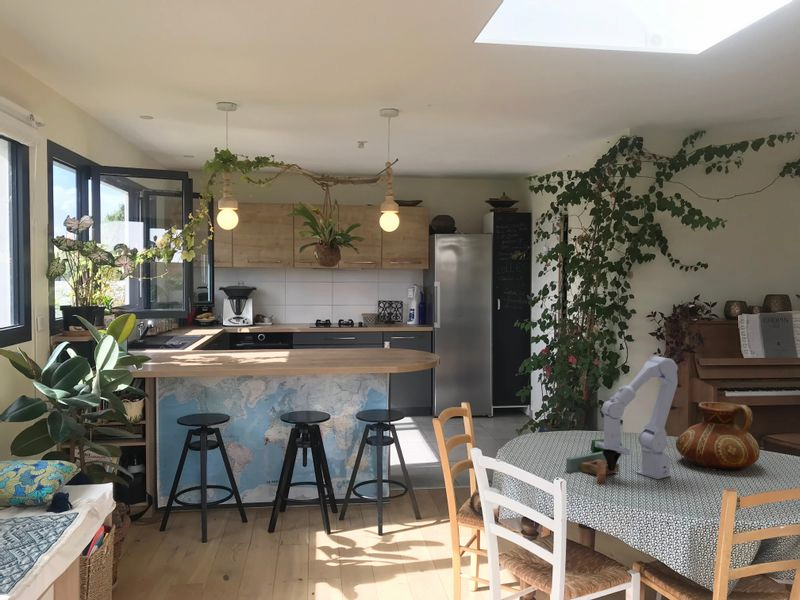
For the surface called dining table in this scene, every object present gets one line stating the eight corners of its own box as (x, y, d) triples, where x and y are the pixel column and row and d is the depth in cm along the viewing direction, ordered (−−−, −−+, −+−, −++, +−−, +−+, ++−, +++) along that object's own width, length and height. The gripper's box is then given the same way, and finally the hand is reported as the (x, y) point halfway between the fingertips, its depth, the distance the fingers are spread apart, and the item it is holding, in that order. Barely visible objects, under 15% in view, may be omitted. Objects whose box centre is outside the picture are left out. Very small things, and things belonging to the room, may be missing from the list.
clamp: (600, 466, 272) (595, 448, 269) (593, 458, 277) (588, 441, 274) (625, 454, 273) (621, 436, 270) (617, 447, 279) (613, 429, 276)
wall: (606, 465, 257) (606, 452, 257) (570, 472, 247) (570, 459, 246) (602, 463, 259) (602, 451, 259) (566, 471, 248) (566, 458, 248)
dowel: (607, 482, 235) (607, 463, 235) (601, 483, 233) (601, 464, 233) (600, 480, 237) (601, 461, 237) (595, 481, 236) (595, 462, 236)
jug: (671, 468, 253) (672, 404, 253) (678, 450, 280) (679, 392, 279) (760, 479, 239) (761, 411, 239) (758, 460, 266) (759, 398, 265)
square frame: (619, 471, 246) (618, 463, 246) (600, 475, 241) (600, 467, 241) (598, 467, 254) (597, 459, 254) (580, 470, 249) (579, 462, 249)
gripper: (589, 431, 246) (589, 467, 247) (620, 439, 234) (620, 476, 234) (602, 429, 250) (602, 464, 250) (633, 436, 238) (633, 473, 238)
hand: (611, 470), depth 243 cm, fingers closed
